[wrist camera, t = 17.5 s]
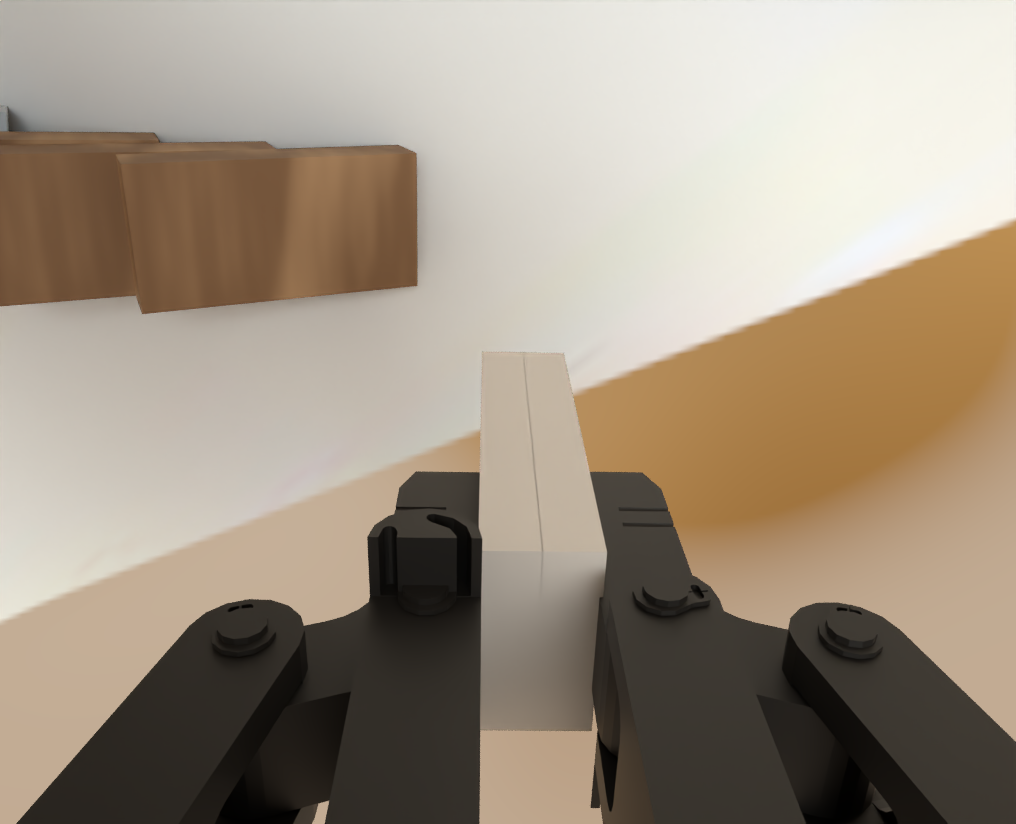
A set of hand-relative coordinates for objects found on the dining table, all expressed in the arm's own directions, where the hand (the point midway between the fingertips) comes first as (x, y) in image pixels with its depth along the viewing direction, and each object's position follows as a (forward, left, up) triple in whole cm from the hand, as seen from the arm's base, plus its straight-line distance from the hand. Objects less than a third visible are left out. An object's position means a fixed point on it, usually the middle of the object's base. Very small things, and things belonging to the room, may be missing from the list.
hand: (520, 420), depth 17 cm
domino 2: (-2, -3, -19) cm, 20 cm away
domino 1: (-5, -7, -19) cm, 21 cm away
